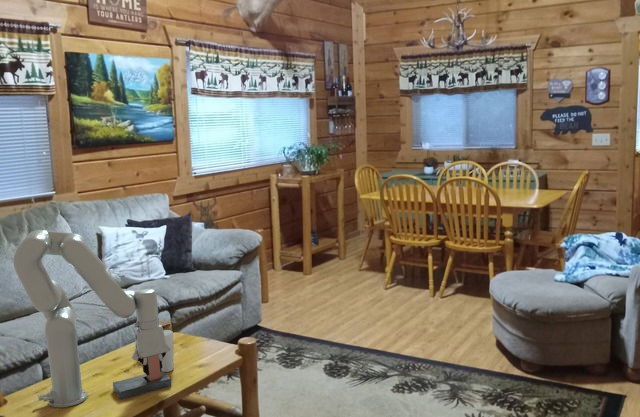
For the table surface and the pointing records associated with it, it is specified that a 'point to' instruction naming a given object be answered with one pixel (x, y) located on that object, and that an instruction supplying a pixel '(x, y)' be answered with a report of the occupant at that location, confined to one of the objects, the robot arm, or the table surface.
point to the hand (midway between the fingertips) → (153, 371)
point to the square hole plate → (140, 385)
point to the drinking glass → (169, 357)
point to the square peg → (153, 367)
